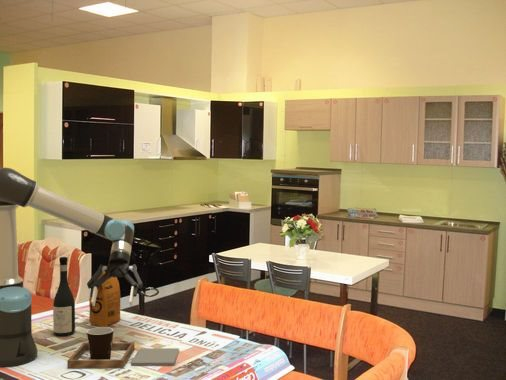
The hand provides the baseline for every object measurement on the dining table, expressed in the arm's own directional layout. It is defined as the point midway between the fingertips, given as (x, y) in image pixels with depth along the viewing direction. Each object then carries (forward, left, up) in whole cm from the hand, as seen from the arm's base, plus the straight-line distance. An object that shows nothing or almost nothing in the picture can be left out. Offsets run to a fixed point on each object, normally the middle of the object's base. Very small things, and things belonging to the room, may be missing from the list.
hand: (111, 303), depth 195 cm
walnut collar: (0, -12, -16) cm, 20 cm away
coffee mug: (0, -12, -16) cm, 20 cm away
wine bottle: (-22, +16, -16) cm, 32 cm away
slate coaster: (+18, -12, -16) cm, 26 cm away
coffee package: (-10, +31, -16) cm, 36 cm away
